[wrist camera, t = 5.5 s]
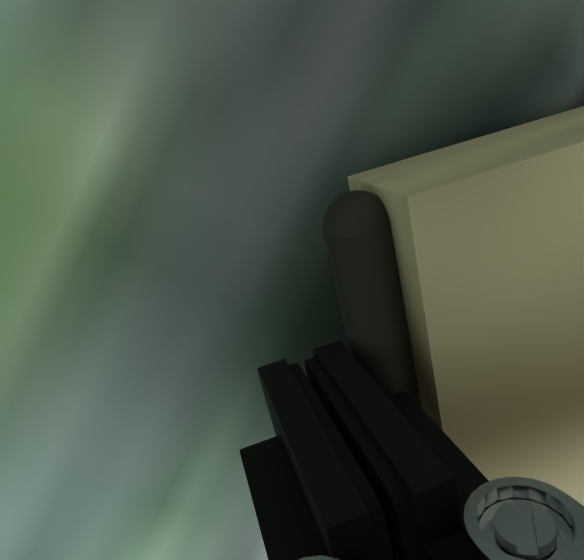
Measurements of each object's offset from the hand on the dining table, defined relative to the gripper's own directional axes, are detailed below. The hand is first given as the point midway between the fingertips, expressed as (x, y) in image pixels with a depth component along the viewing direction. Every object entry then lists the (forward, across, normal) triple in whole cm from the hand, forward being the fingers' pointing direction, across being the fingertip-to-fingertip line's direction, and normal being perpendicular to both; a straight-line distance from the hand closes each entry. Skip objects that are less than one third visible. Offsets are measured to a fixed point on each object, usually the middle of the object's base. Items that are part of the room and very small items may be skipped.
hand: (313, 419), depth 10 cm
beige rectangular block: (+2, -7, 0) cm, 7 cm away
